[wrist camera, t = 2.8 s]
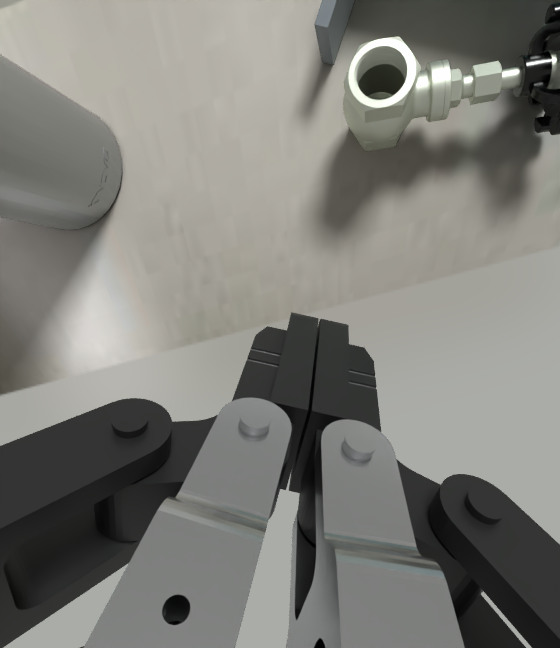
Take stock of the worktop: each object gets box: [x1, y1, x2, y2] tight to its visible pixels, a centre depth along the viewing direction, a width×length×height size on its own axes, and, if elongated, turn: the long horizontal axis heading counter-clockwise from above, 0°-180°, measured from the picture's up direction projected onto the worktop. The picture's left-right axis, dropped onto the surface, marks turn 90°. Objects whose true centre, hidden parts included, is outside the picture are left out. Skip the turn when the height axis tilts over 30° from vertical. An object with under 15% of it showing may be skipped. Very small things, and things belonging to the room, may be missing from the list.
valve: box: [343, 3, 560, 151], centre depth 23 cm, size 7×7×12 cm
